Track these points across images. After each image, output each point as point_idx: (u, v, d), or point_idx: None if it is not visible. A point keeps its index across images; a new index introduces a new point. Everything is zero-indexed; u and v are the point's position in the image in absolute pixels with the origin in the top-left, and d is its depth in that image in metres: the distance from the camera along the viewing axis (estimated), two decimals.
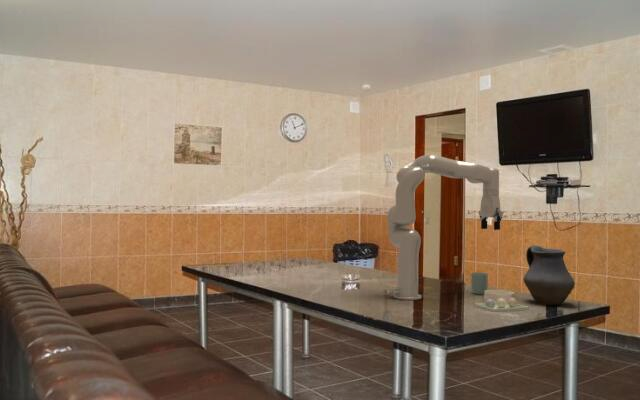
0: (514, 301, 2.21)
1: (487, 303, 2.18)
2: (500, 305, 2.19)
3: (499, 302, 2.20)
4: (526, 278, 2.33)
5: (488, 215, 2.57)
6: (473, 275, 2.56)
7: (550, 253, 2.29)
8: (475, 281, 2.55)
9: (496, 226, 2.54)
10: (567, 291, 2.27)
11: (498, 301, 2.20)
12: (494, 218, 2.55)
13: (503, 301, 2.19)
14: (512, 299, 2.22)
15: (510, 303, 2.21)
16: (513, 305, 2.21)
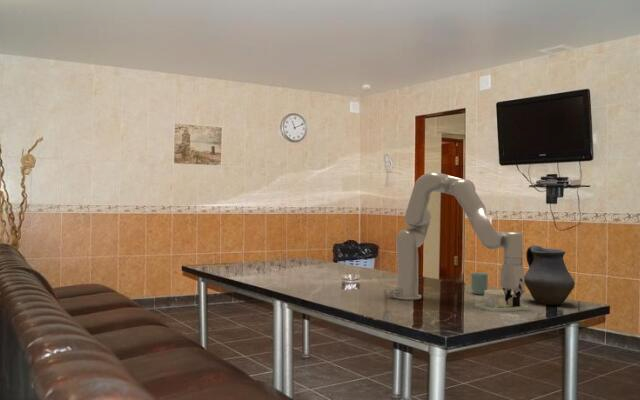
0: None
1: (487, 303, 2.18)
2: (500, 305, 2.19)
3: (499, 302, 2.20)
4: (526, 278, 2.33)
5: (510, 287, 2.20)
6: (473, 275, 2.56)
7: (550, 253, 2.29)
8: (475, 281, 2.55)
9: (515, 303, 2.20)
10: (567, 291, 2.27)
11: (498, 301, 2.20)
12: (514, 292, 2.20)
13: (503, 301, 2.19)
14: (512, 299, 2.22)
15: (510, 303, 2.21)
16: None
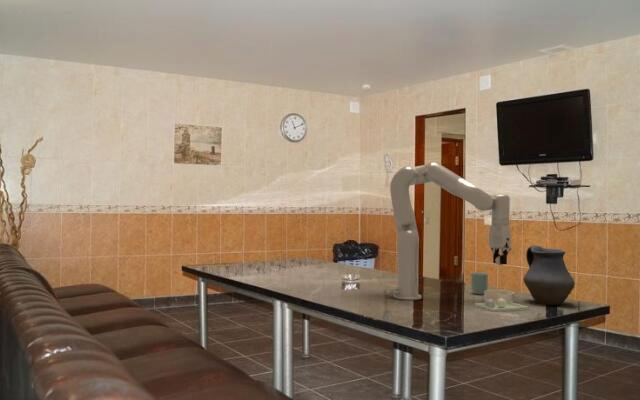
0: None
1: (487, 303, 2.18)
2: (500, 305, 2.19)
3: (499, 302, 2.20)
4: (526, 278, 2.33)
5: (497, 246, 2.35)
6: (473, 275, 2.56)
7: (550, 253, 2.29)
8: (475, 281, 2.55)
9: (502, 260, 2.34)
10: (567, 291, 2.27)
11: (498, 301, 2.20)
12: (501, 251, 2.35)
13: (503, 301, 2.19)
14: None
15: (498, 261, 2.36)
16: None
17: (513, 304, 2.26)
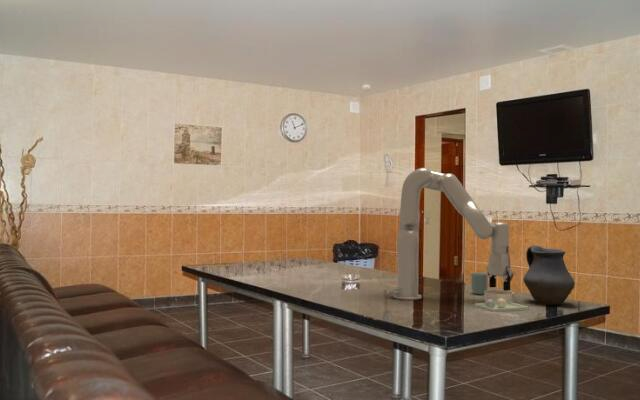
0: None
1: (487, 303, 2.18)
2: (500, 305, 2.19)
3: (499, 302, 2.20)
4: (526, 278, 2.33)
5: (497, 274, 2.35)
6: (473, 275, 2.56)
7: (550, 253, 2.29)
8: (475, 281, 2.55)
9: (506, 287, 2.32)
10: (567, 291, 2.27)
11: (498, 301, 2.20)
12: (504, 278, 2.33)
13: (503, 301, 2.19)
14: (499, 293, 2.36)
15: None
16: None
17: (513, 304, 2.26)
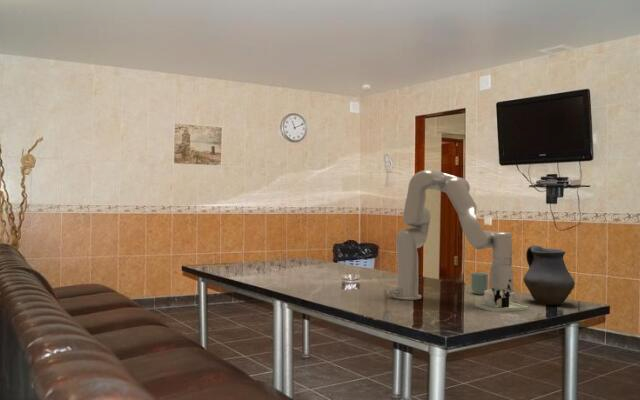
0: None
1: (487, 303, 2.18)
2: (500, 305, 2.19)
3: (499, 302, 2.20)
4: (526, 278, 2.33)
5: (499, 287, 2.18)
6: (473, 275, 2.56)
7: (550, 253, 2.29)
8: (475, 281, 2.55)
9: (504, 303, 2.18)
10: (567, 291, 2.27)
11: (498, 301, 2.20)
12: (503, 293, 2.18)
13: None
14: None
15: None
16: None
17: (513, 304, 2.26)
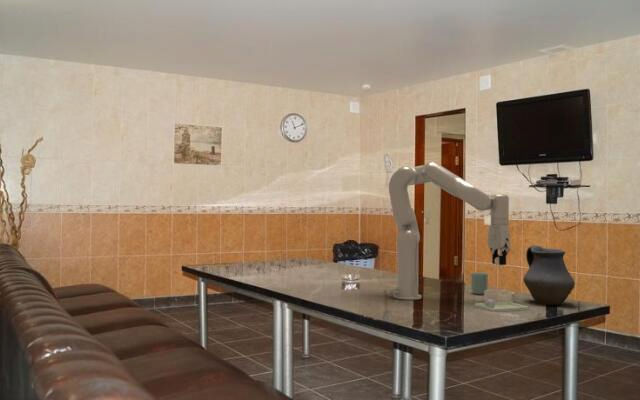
0: None
1: (487, 303, 2.18)
2: (498, 263, 2.33)
3: (496, 260, 2.34)
4: (526, 278, 2.33)
5: (497, 246, 2.32)
6: (473, 275, 2.56)
7: (550, 253, 2.29)
8: (475, 281, 2.55)
9: (502, 261, 2.32)
10: (567, 291, 2.27)
11: (496, 259, 2.34)
12: (500, 251, 2.32)
13: None
14: (500, 293, 2.36)
15: None
16: None
17: (513, 304, 2.26)
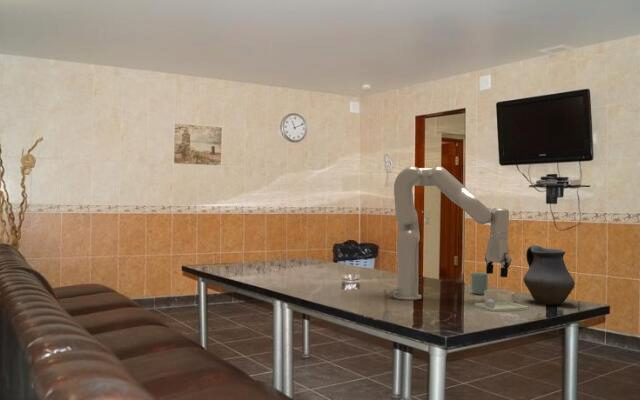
0: None
1: (487, 303, 2.18)
2: None
3: None
4: (526, 278, 2.33)
5: (495, 260, 2.32)
6: (473, 275, 2.56)
7: (550, 253, 2.29)
8: (475, 281, 2.55)
9: (503, 273, 2.30)
10: (567, 291, 2.27)
11: None
12: (501, 264, 2.30)
13: None
14: None
15: None
16: None
17: (513, 304, 2.26)
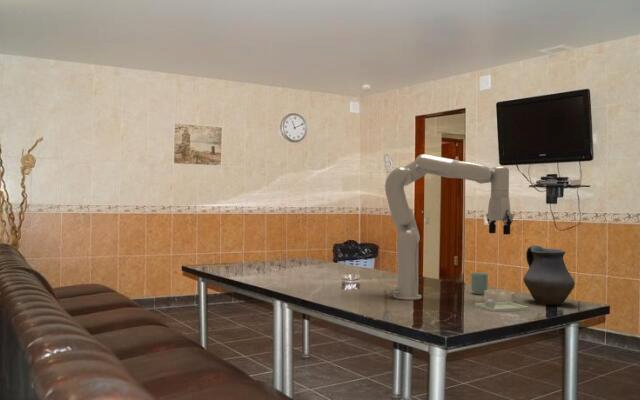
0: (491, 292, 2.38)
1: (487, 303, 2.18)
2: None
3: None
4: (526, 278, 2.33)
5: (497, 218, 2.32)
6: (473, 275, 2.56)
7: (550, 253, 2.29)
8: (475, 281, 2.55)
9: (506, 230, 2.30)
10: (567, 291, 2.27)
11: (501, 293, 2.36)
12: (503, 221, 2.30)
13: None
14: None
15: None
16: None
17: (513, 304, 2.26)
